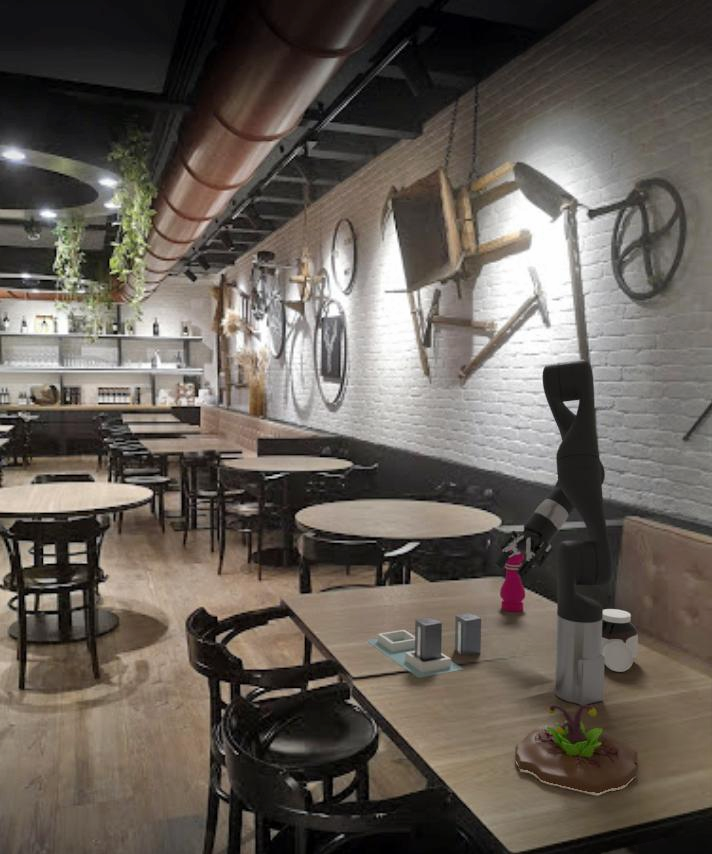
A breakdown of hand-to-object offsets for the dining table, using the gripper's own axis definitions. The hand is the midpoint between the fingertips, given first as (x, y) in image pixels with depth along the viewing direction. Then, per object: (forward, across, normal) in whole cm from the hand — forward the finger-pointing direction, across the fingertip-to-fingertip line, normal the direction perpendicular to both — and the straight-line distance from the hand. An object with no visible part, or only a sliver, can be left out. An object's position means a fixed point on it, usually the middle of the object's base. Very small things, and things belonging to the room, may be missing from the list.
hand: (508, 570), depth 187 cm
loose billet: (+22, 0, +6) cm, 23 cm away
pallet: (+32, -4, -3) cm, 32 cm away
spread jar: (+1, +19, +27) cm, 33 cm away
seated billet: (+30, +3, -5) cm, 31 cm away
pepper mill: (-1, -26, +30) cm, 40 cm away
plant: (+30, +50, -2) cm, 59 cm away
